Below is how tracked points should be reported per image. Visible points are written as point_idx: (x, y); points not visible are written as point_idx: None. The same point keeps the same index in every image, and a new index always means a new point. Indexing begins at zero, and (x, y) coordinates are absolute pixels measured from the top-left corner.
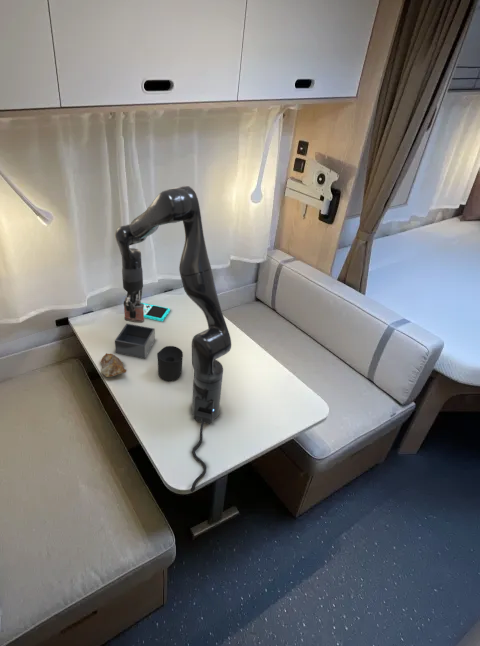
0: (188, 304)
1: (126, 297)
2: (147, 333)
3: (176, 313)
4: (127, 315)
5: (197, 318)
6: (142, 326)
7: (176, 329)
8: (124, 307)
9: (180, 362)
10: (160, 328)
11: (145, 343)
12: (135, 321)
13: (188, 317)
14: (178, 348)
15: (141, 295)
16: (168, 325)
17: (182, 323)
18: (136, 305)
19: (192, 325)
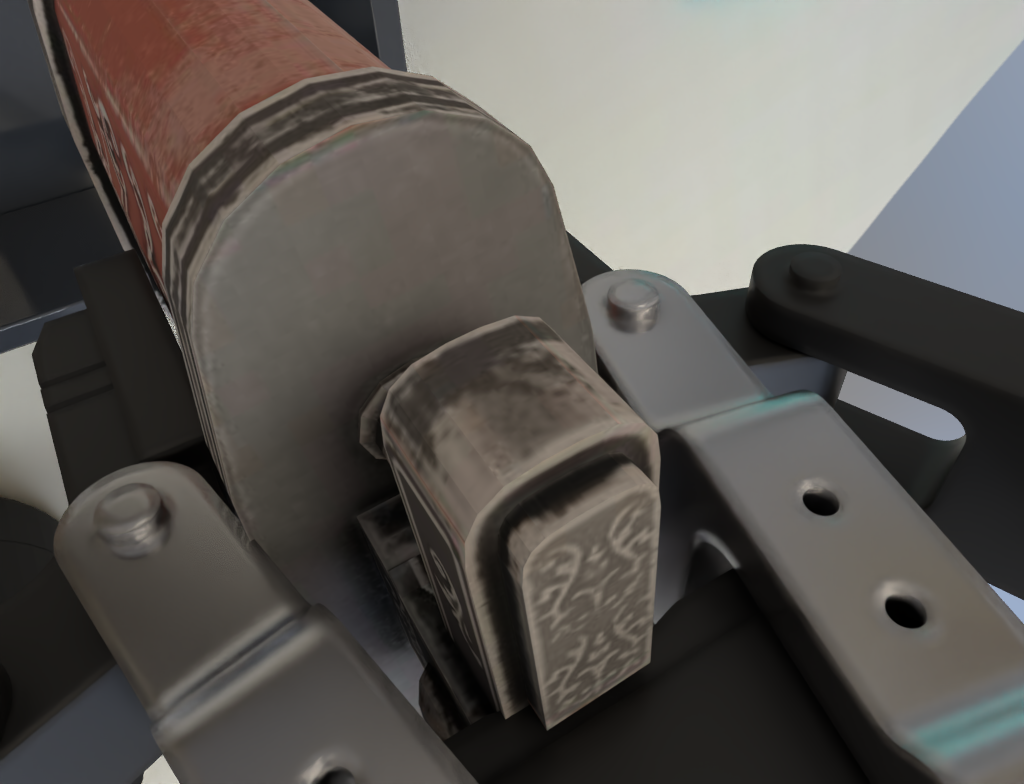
0: (932, 66)
1: (654, 494)
2: None
3: (817, 44)
4: (103, 128)
5: (758, 244)
6: (393, 14)
7: (593, 196)
8: (171, 143)
9: None
10: (567, 40)
11: (28, 337)
12: (153, 286)
13: (766, 177)
14: (134, 781)
15: (899, 469)
16: (634, 89)
17: (684, 186)
18: (410, 645)
19: (671, 269)
